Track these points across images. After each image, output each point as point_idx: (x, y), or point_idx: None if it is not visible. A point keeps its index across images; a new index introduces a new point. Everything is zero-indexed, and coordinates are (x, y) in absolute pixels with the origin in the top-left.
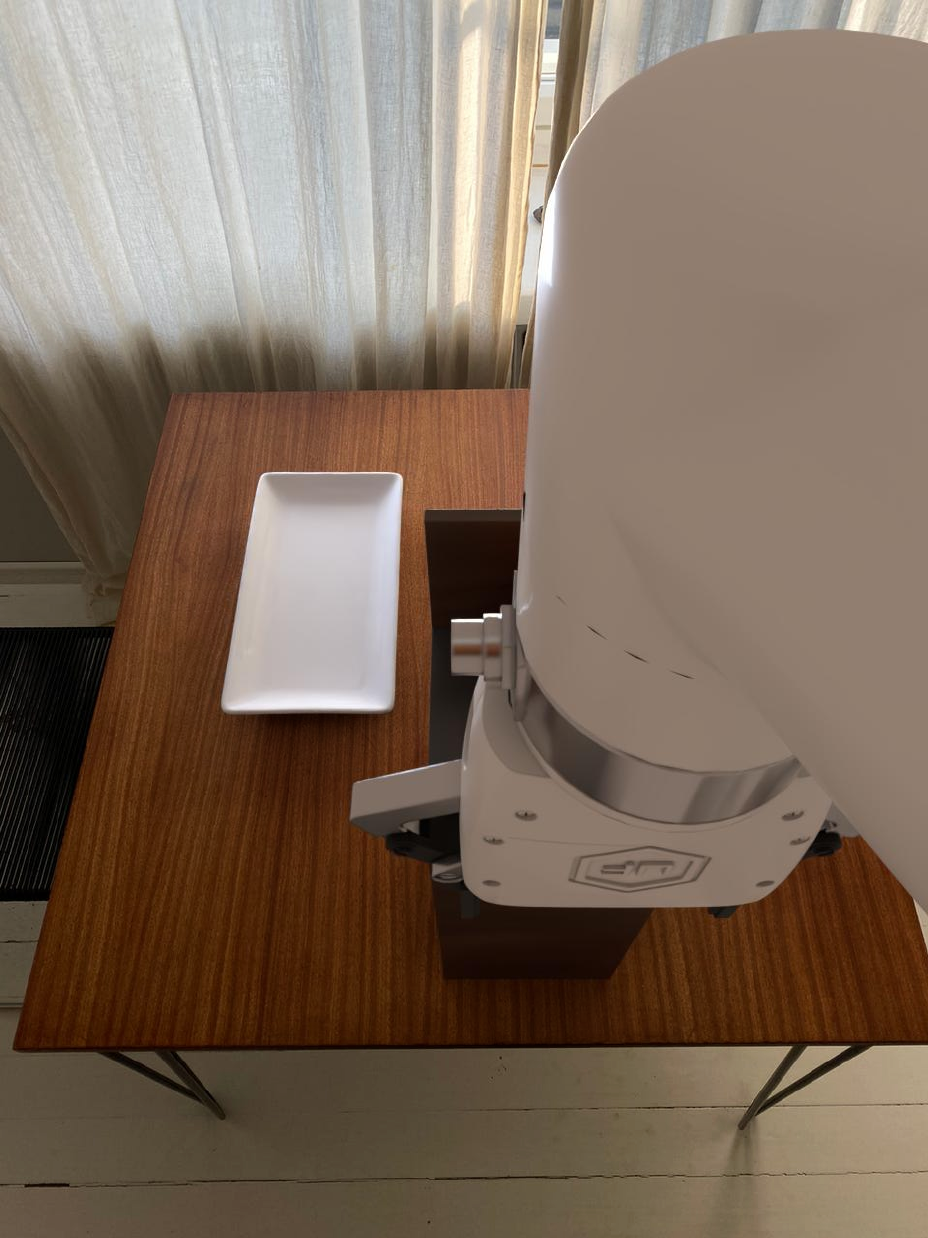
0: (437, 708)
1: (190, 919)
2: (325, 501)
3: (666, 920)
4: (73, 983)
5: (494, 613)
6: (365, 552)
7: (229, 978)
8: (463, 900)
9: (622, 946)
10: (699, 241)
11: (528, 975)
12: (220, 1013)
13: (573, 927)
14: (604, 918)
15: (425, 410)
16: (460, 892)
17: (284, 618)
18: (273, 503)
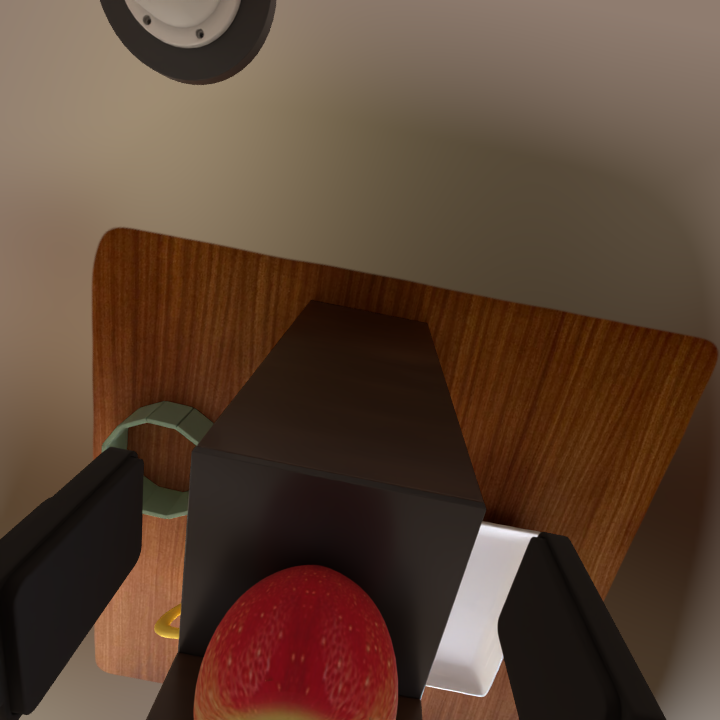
0: (436, 628)
1: (596, 397)
2: (440, 663)
3: (261, 329)
4: (687, 372)
5: None
6: None
7: (577, 353)
8: (616, 637)
9: (297, 326)
10: None
11: (368, 314)
12: (588, 332)
13: (333, 353)
14: (307, 358)
15: None
16: (657, 703)
17: (488, 587)
18: (479, 671)
